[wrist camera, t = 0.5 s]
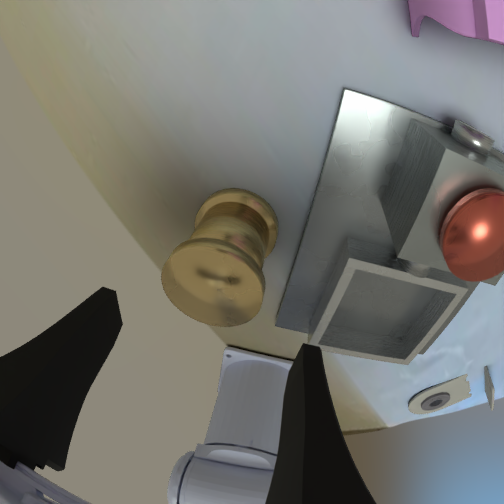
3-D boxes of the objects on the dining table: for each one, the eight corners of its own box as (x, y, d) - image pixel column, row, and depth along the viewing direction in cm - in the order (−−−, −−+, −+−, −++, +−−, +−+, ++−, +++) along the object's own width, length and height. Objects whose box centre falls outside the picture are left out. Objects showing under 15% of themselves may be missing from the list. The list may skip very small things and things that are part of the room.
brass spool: (269, 264, 21) (253, 336, 16) (197, 246, 21) (163, 311, 17) (286, 199, 18) (271, 265, 13) (202, 180, 18) (159, 237, 13)
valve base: (421, 347, 23) (431, 415, 18) (276, 318, 24) (261, 393, 19) (535, 162, 12) (597, 220, 7) (346, 76, 13) (367, 95, 8)
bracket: (402, 392, 29) (404, 420, 26) (487, 361, 24) (494, 389, 21) (413, 412, 31) (415, 436, 29) (487, 386, 27) (493, 410, 24)
